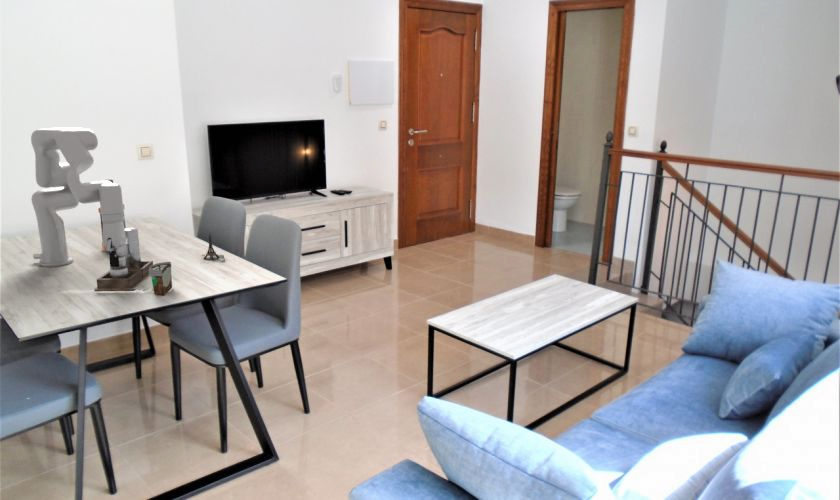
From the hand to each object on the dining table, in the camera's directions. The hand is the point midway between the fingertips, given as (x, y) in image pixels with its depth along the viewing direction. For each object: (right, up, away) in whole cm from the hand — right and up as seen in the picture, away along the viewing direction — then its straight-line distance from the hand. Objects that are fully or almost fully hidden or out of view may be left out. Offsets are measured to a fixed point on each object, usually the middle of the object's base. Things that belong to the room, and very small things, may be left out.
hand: (118, 263), depth 240 cm
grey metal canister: (-1, -4, +14) cm, 15 cm away
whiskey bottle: (-28, +6, +56) cm, 63 cm away
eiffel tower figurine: (+22, +1, +41) cm, 47 cm away
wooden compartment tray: (0, -7, +8) cm, 11 cm away
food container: (+17, -11, -4) cm, 21 cm away
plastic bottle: (0, -6, +2) cm, 7 cm away
